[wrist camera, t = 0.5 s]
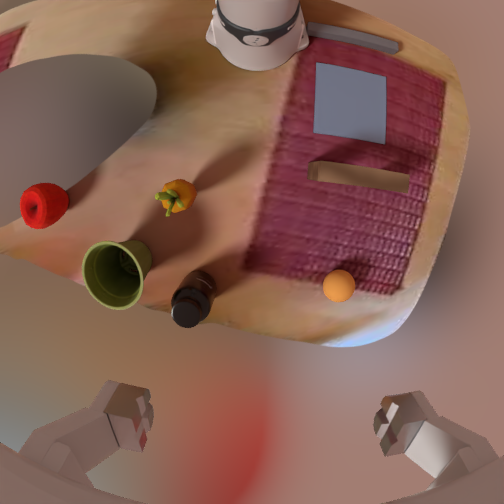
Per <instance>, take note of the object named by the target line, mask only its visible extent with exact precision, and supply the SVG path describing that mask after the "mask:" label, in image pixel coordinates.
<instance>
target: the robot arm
mask: <svg viewBox="0 0 504 504" xmlns="http://www.w3.org/2000/svg"><path fill="white" fill-rule="evenodd" d="M215 4H217V9H215V8H214V9H213V12H212V15H214V16H213V19H212V20H211V24H210V26H209V29H208V31H207V34H206V40H207V42H209V43H210V44H212V45H213V46H215V47H217V48H218V49H219V50H220V52H221V53H222V54H223V56H224V57H225V58H226V59H227V60H228V61H229V62H231V63H232V64H234V65H235V66H238V67H240V68H243V69H247V70H253V71H263V70H269V69H273V68H276V67H278V66H280V65H282V64H283V63H285V62H286V61H287V60H288V59H289V58H290V57H291V56H292V55H293V54H294V53H295V52H297V51H300V50H302V49H305V48H306V47H307V46H308V45H309V39H308V35H307V30H306V26H305V22H304V18H303V14H302V10H301V6H300V1H299V0H215ZM212 32H213V33H212ZM302 37H303V38H302ZM150 398H151V395H150V391H149V389H146V388H142V387H137V386H132V385H128V384H124V383H118V382H115V381H111V380H108V381H106V382H105V384H104V385H103V387H102V388H101V390H100V391H99V393H98V395H97V396H96V398H95V399H94V401H93V403H92V404H91V406H90V407H89V408H83V409H81V410H79V411H77V412H74V413H72V414H70V415H68V416H65V417H63V418H61V419H59V420H56V421H54V422H52V423H49V424H47V425H45V426H42V427H40V428H38V429H35V430H34V431H33V433H32V434H31V435H30V437H29V438H28V440H27V441H26V442H25V444H24V445H23V447H22V448H21V450H20V451H19V453H17V452H16V451H14V450H12V449H10V448H9V447H7V446H6V445H4V444H2V443H1V442H0V504H146V503H142V502H138V501H134V500H131V499H127V498H124V497H120V496H117V495H114V494H110V493H107V492H104V491H101V490H98V489H96V488H94V486H93V484H92V483H91V481H90V480H89V479H88V477H87V475H86V474H85V473H86V472H88V471H89V470H91V469H92V468H94V467H95V466H97V465H98V464H99V463H101V462H102V461H104V460H105V459H106V458H108V457H109V456H110V455H112V454H113V453H114V452H116V451H117V450H119V448H123V449H127V450H132V451H136V452H141V453H142V452H143V450H144V447H145V444H146V441H147V436H146V433H147V432H148V431H150V430H151V427H152V423H153V418H154V412H153V406H152V405H151V404H150V403H149V400H150ZM381 406H382V408H381V409H380V410H379V411H378V412H377V413H376V415H375V418H374V424H373V425H374V431H375V434H376V436H378V437H380V438H381V442H380V446H381V448H382V451H383V453H384V456H391V455H396V454H401V453H405V454H406V456H408V457H409V458H410V459H411V460H413V461H414V462H415V463H416V464H418V465H419V466H420V467H421V468H423V469H424V470H425V471H427V472H428V473H429V474H430V475H432V476H433V477H434V478H436V479H435V480H434V481H433V482H432V483H431V484H430V486H429V487H428V489H427V490H426V491H423V492H420V493H417V494H414V495H411V496H408V497H404V498H401V499H397V500H393V501H390V502H386V503H382V504H504V455H503V456H502V457H500V458H499V457H498V455H497V454H496V453H495V451H494V449H493V448H492V446H491V445H490V444H489V442H488V441H487V439H486V438H485V437H482V436H480V435H478V434H476V433H474V432H472V431H470V430H468V429H466V428H464V427H462V426H460V425H458V424H456V423H454V422H452V421H450V420H448V419H446V418H445V417H443V416H442V417H439V416H438V415H437V413H436V412H435V410H434V409H433V407H432V406H431V404H430V403H429V401H428V400H427V398H426V397H425V395H424V394H423V392H421V391H415V392H409V393H403V394H396V395H389V396H385V397H384V398H383V399H382V401H381Z"/></svg>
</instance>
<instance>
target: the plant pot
mask: <svg viewBox="0 0 504 504" xmlns="http://www.w3.org/2000/svg"><path fill="white" fill-rule="evenodd" d="M123 251H125V256H124V258H123V257H122V254H123ZM151 265H152V255H151V252H150V251H149V249H148V248H147V246H146V245H145V244H144V243H142V242H140V241H137V240H130V241H125V242H119V243H116V242H113V241H102V242H98V243H96V244H94V245H93V246H91V247H90V248H89V250H88V251H87V252H86V254H85V256H84V259H83V263H82V275H83V280H84V283H85V285H86V288H87V289H88V291H89V293H90V294H91V295H92V296H93V298H94V299H95V300H97V301H98V302H99V303H100V304H102V305H104V306H105V307H108V308H111V309H114V310H123V309H127V308H129V307H131V306H133V305H134V304H135V303H136V302H137V301H138V300H139V298H140V296H141V294H142V291H143V286H144V279H145V277H146V275H147V273H148V272H149V270H150V268H151ZM130 269H133V270H137V272H133V271H131V270H130Z"/></svg>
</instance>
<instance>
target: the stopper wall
mask: <svg viewBox="0 0 504 504" xmlns="http://www.w3.org/2000/svg"><path fill="white" fill-rule="evenodd" d="M306 30H307V35H308V36H314V37H321V38H326V39H332V40H337V41H342V42H347V43H351V44H356V45H360V46H364V47H368V48H372V49H376V50H379V51H383V52H386V53H390V54H395V53H396V52H397V51H399V50H398V42H395V41H391V40H388V39H385V38H381V37H378V36H374V35H371V34H367V33H363V32H359V31H355V30H350V29H346V28H341V27H336V26H331V25H326V24H320V23H314V22H308V24H307V27H306Z"/></svg>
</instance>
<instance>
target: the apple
mask: <svg viewBox="0 0 504 504" xmlns="http://www.w3.org/2000/svg"><path fill="white" fill-rule="evenodd" d="M68 204H69V198H68V194H67V193H66V192H65V190H63V189H62V188H61V187H59V186H57V185H55V184H51V183H40V184H36V185H33V186H31V187H29V188H28V189H27V190H25V191H24V193H23V195H22V197H21V200H20V209H21V215H22V217H23V219H24V221H25V223H26V224H27V225H28V226H30V227H31V228H35V229H43V228H46V227H48V226H50V225H52V224H54V223H55V222H57V221H58V220H59V219H60V218H61V217H62V216H63V215H64V214H65V212H66V210H67V208H68Z"/></svg>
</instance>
